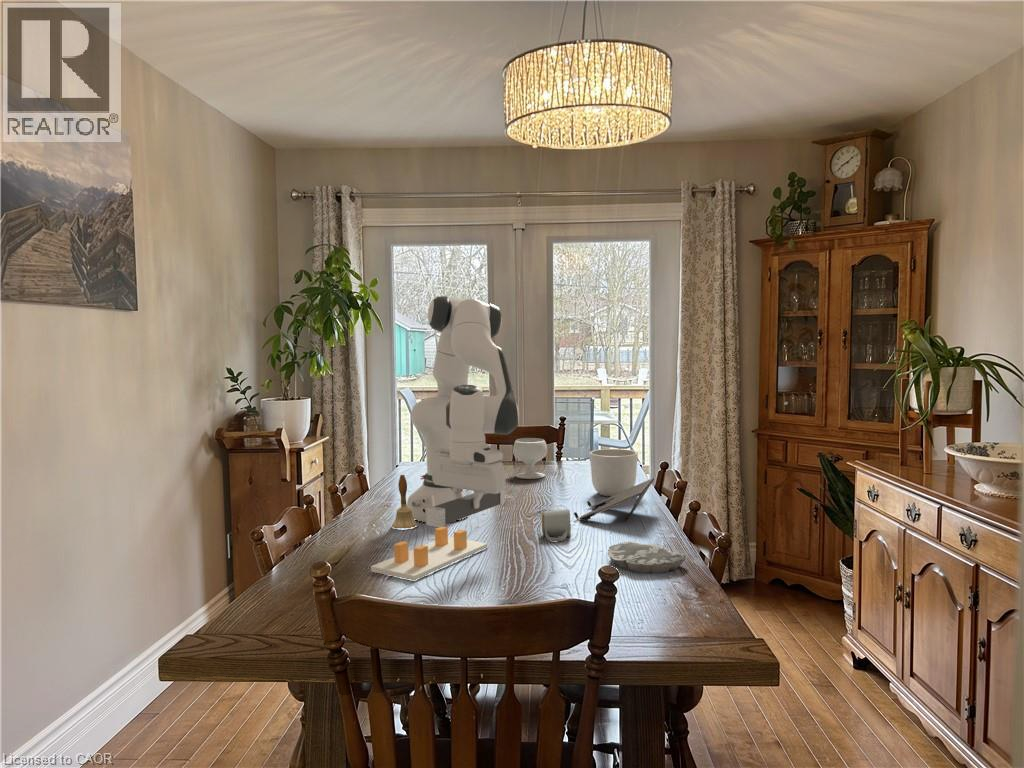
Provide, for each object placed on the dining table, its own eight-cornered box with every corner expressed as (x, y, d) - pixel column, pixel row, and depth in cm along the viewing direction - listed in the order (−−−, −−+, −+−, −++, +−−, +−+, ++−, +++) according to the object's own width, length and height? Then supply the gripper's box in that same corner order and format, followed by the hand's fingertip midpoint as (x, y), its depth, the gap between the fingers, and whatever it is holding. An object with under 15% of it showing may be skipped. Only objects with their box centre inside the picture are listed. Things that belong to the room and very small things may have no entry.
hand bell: (397, 532, 211) (396, 478, 210) (386, 526, 218) (384, 474, 217) (423, 527, 216) (421, 475, 215) (411, 521, 223) (409, 471, 222)
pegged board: (370, 572, 176) (370, 548, 175) (446, 541, 201) (446, 520, 200) (414, 582, 168) (413, 557, 167) (487, 548, 193) (487, 527, 193)
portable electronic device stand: (601, 524, 239) (589, 499, 240) (663, 497, 231) (650, 472, 231) (583, 543, 217) (570, 515, 218) (651, 515, 209) (636, 486, 210)
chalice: (507, 475, 293) (507, 439, 292) (538, 472, 299) (537, 436, 298) (522, 481, 280) (521, 443, 279) (553, 478, 286) (553, 441, 285)
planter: (636, 489, 263) (635, 448, 262) (639, 500, 246) (639, 456, 245) (589, 489, 265) (589, 448, 264) (590, 499, 248) (589, 456, 247)
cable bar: (426, 524, 167) (426, 508, 166) (492, 501, 189) (492, 486, 189) (439, 527, 164) (439, 510, 164) (504, 503, 187) (504, 488, 187)
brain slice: (590, 564, 179) (590, 553, 179) (630, 549, 191) (630, 538, 191) (656, 583, 165) (656, 570, 165) (695, 566, 177) (695, 554, 177)
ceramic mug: (542, 532, 209) (542, 506, 208) (570, 532, 208) (570, 506, 207) (541, 543, 198) (540, 516, 197) (570, 543, 197) (570, 516, 197)
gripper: (426, 449, 179) (427, 503, 180) (493, 457, 167) (494, 515, 169) (442, 445, 184) (442, 498, 185) (508, 453, 173) (508, 509, 174)
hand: (467, 506), depth 177 cm, fingers closed on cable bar, 3 cm apart
